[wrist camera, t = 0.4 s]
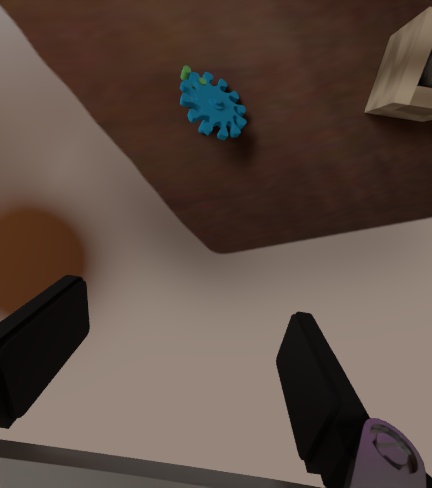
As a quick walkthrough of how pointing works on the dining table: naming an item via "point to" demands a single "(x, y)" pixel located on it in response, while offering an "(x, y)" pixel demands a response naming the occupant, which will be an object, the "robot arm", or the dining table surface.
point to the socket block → (404, 73)
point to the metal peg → (426, 74)
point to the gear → (211, 104)
